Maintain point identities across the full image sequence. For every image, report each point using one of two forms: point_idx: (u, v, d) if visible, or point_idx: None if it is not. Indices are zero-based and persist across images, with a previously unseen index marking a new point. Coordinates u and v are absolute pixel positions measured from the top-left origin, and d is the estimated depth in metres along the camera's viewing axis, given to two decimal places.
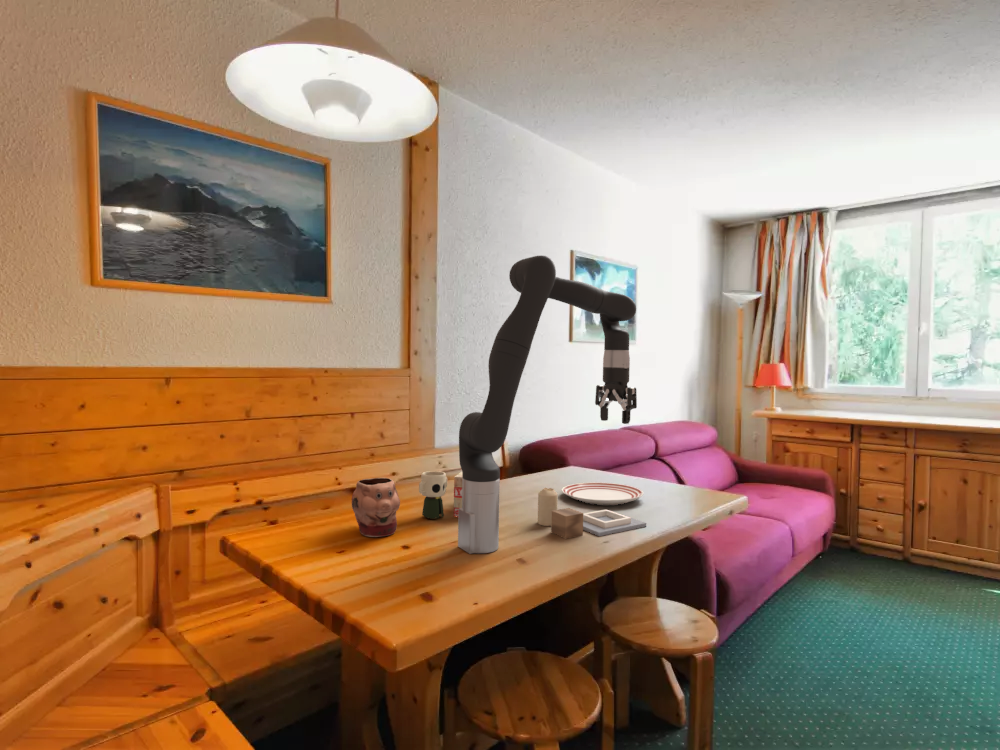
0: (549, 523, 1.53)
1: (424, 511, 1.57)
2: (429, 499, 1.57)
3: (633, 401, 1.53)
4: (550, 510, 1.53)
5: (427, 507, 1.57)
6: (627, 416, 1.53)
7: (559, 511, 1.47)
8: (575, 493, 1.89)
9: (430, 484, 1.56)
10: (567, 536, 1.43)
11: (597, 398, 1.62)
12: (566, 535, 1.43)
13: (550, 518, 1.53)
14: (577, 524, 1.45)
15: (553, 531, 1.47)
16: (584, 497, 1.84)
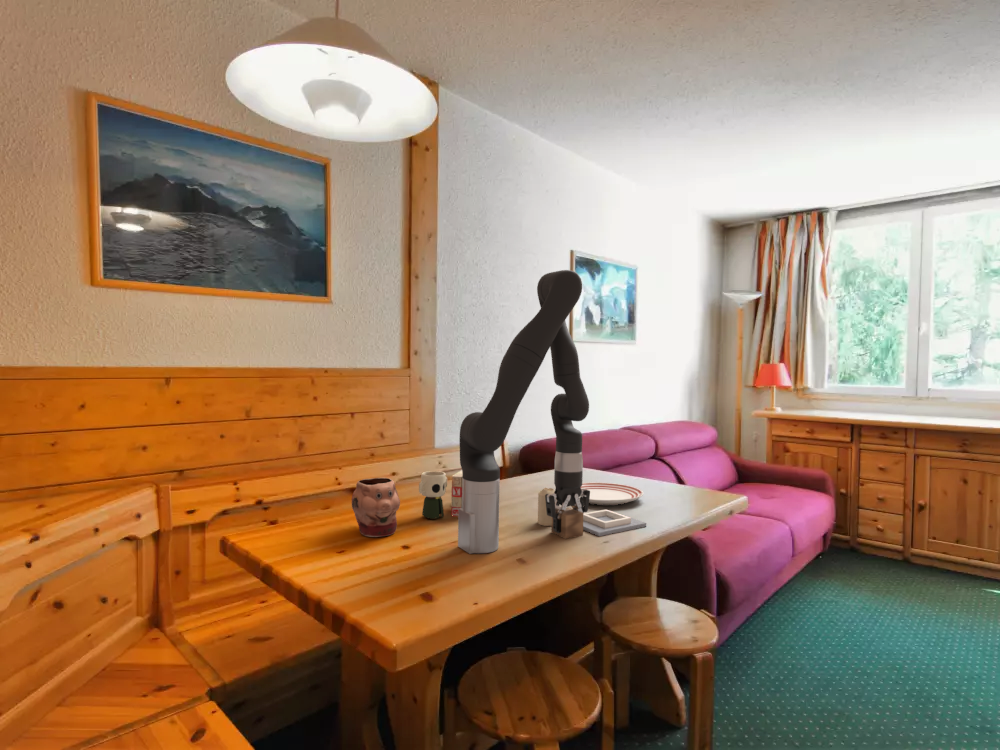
0: (549, 523, 1.53)
1: (424, 511, 1.57)
2: (429, 499, 1.57)
3: (581, 503, 1.50)
4: None
5: (427, 507, 1.57)
6: None
7: None
8: None
9: (430, 484, 1.56)
10: (567, 536, 1.43)
11: (554, 510, 1.42)
12: (566, 534, 1.43)
13: (550, 518, 1.53)
14: (577, 524, 1.45)
15: (553, 531, 1.47)
16: None
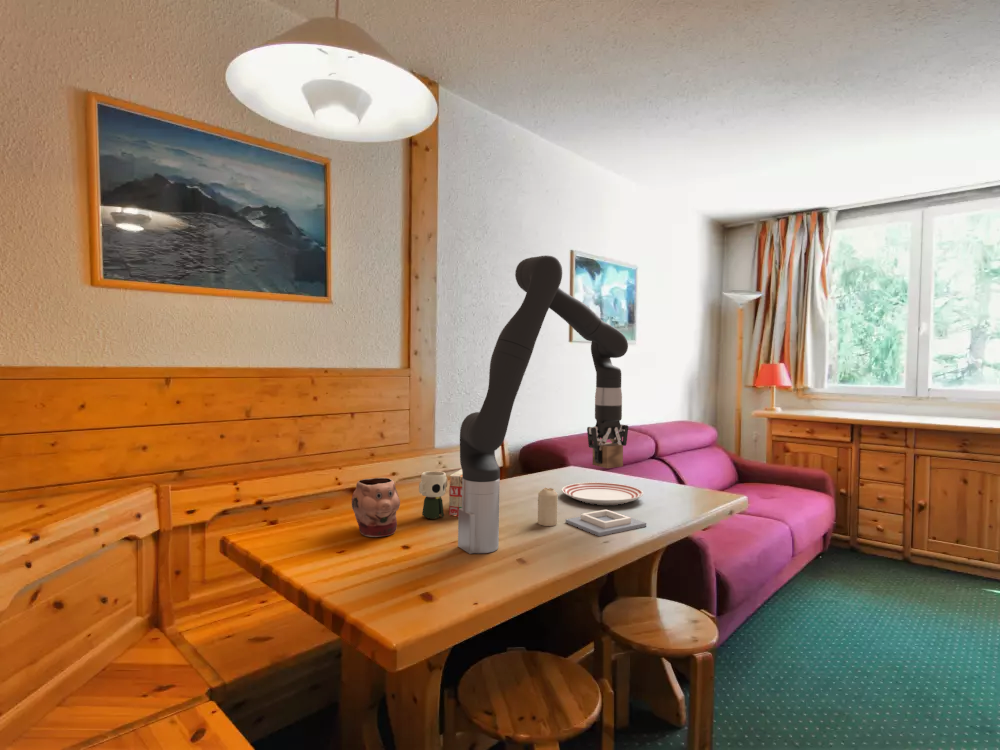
0: (549, 523, 1.53)
1: (424, 511, 1.57)
2: (429, 499, 1.57)
3: (620, 438, 1.58)
4: (550, 510, 1.53)
5: (427, 507, 1.57)
6: None
7: None
8: (575, 493, 1.89)
9: (430, 484, 1.56)
10: (608, 466, 1.51)
11: (596, 441, 1.51)
12: (607, 464, 1.51)
13: (550, 518, 1.53)
14: (618, 455, 1.53)
15: (594, 463, 1.55)
16: (584, 497, 1.84)
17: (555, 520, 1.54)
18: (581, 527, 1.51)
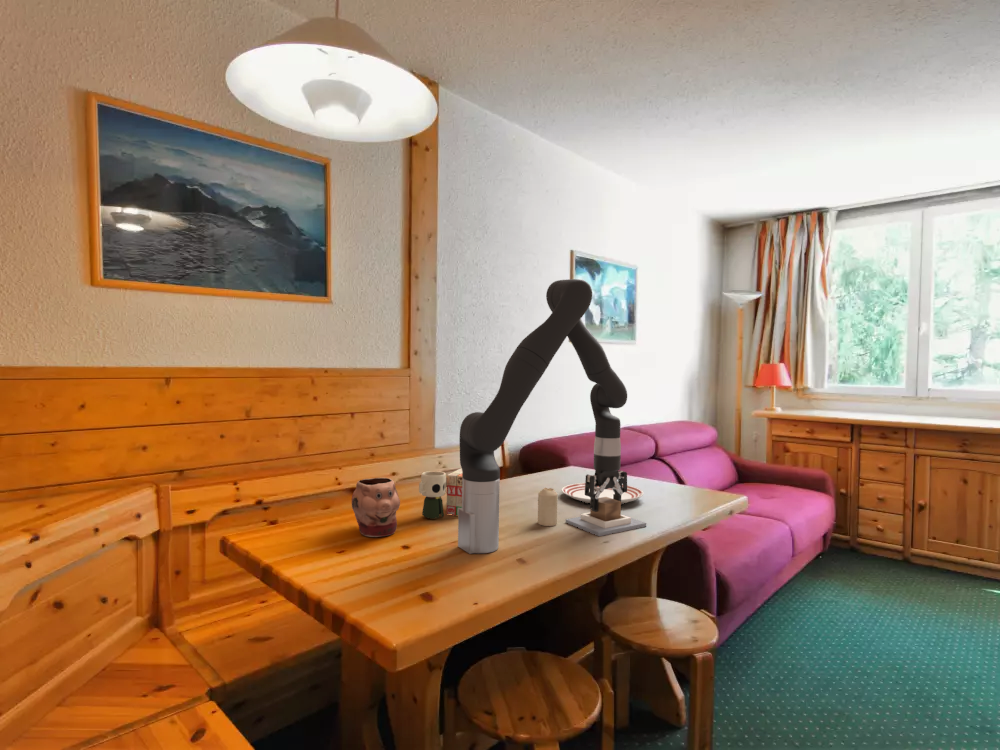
0: (549, 523, 1.53)
1: (424, 511, 1.57)
2: (429, 499, 1.57)
3: (620, 484, 1.59)
4: (550, 510, 1.53)
5: (427, 507, 1.57)
6: None
7: None
8: (575, 493, 1.89)
9: (430, 484, 1.56)
10: None
11: (592, 490, 1.51)
12: None
13: (550, 518, 1.53)
14: (615, 512, 1.53)
15: None
16: (584, 497, 1.84)
17: (555, 520, 1.54)
18: (581, 527, 1.51)
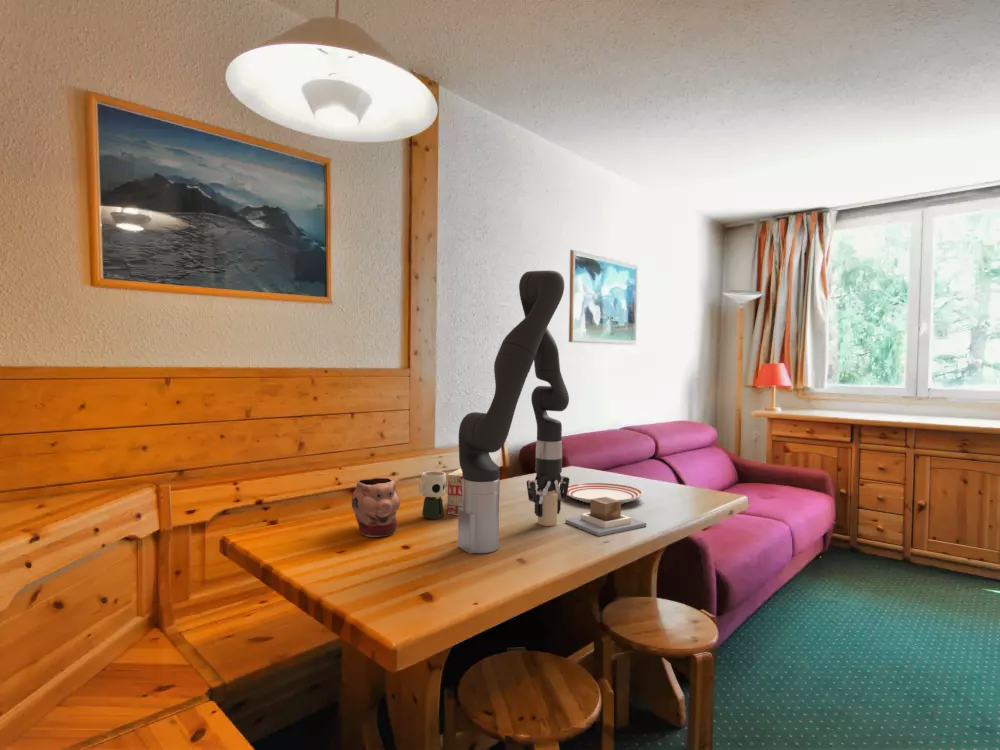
0: (549, 523, 1.53)
1: (424, 511, 1.57)
2: (429, 499, 1.57)
3: (561, 489, 1.59)
4: (550, 510, 1.53)
5: (427, 507, 1.57)
6: None
7: (598, 499, 1.56)
8: (575, 493, 1.89)
9: (430, 484, 1.56)
10: None
11: (535, 495, 1.51)
12: None
13: (550, 518, 1.53)
14: (615, 512, 1.53)
15: None
16: (584, 497, 1.84)
17: (555, 520, 1.54)
18: (581, 527, 1.51)
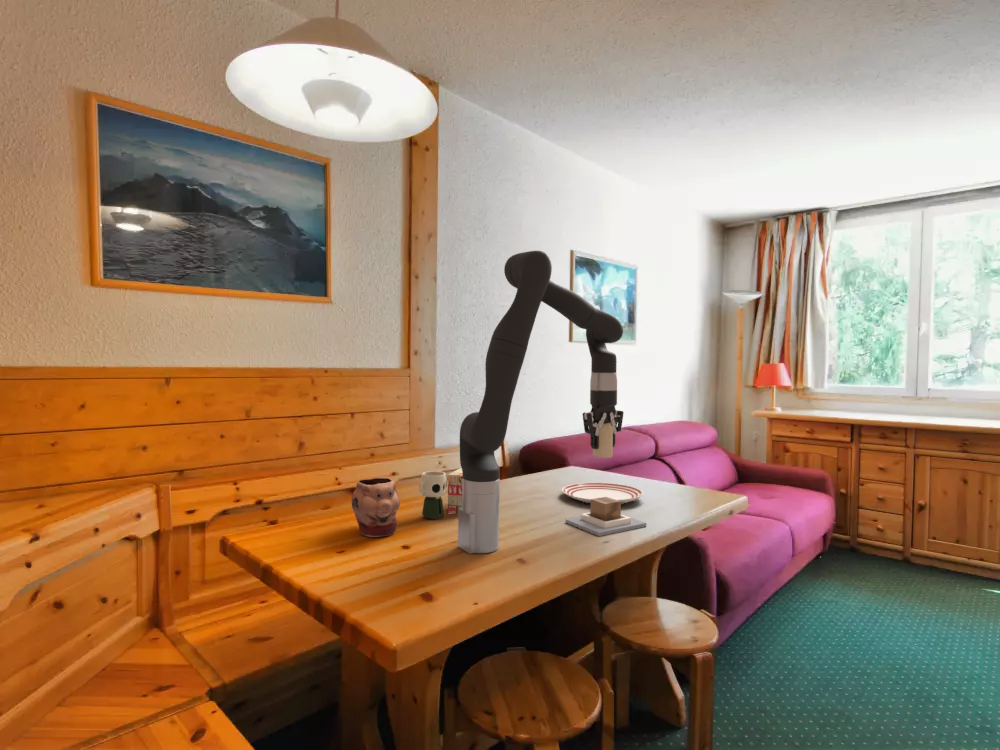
0: (605, 455, 1.53)
1: (424, 511, 1.57)
2: (429, 499, 1.57)
3: (615, 423, 1.59)
4: (606, 442, 1.52)
5: (427, 507, 1.57)
6: None
7: (598, 499, 1.56)
8: (575, 493, 1.89)
9: (430, 484, 1.56)
10: None
11: (592, 426, 1.51)
12: None
13: (606, 450, 1.53)
14: (615, 512, 1.53)
15: None
16: (584, 497, 1.84)
17: (611, 452, 1.54)
18: (581, 527, 1.51)
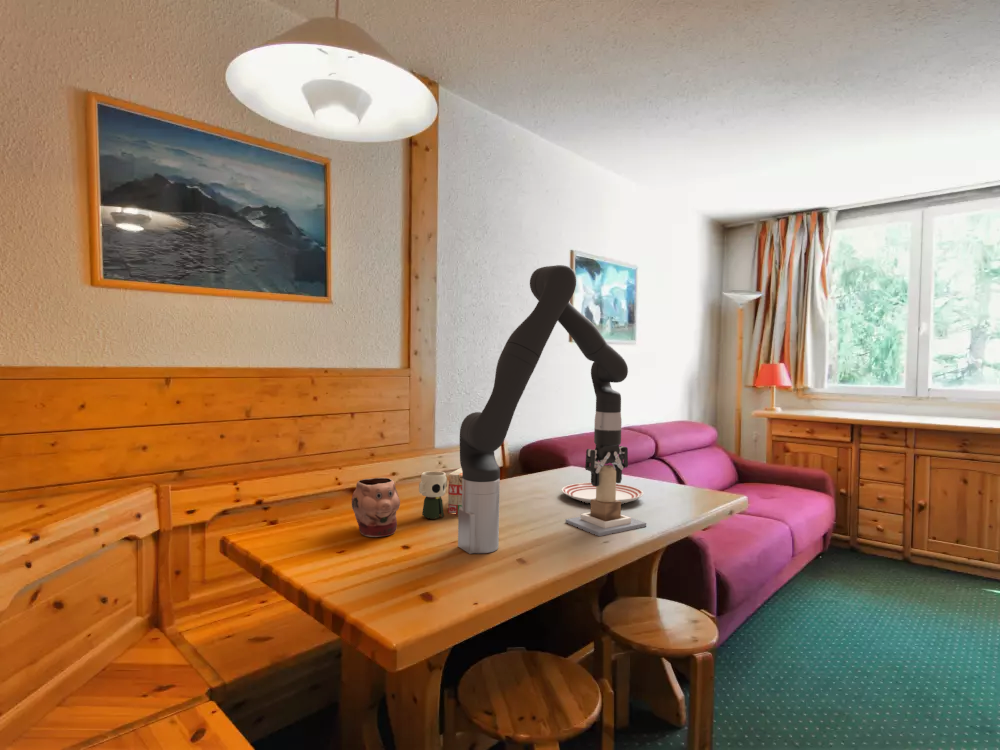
0: (608, 499, 1.52)
1: (424, 511, 1.57)
2: (429, 499, 1.57)
3: (621, 459, 1.59)
4: (609, 486, 1.52)
5: (427, 507, 1.57)
6: None
7: None
8: (575, 493, 1.89)
9: (430, 484, 1.56)
10: None
11: (593, 464, 1.51)
12: None
13: (609, 494, 1.52)
14: (615, 512, 1.53)
15: None
16: (584, 497, 1.84)
17: (614, 497, 1.54)
18: (581, 527, 1.51)
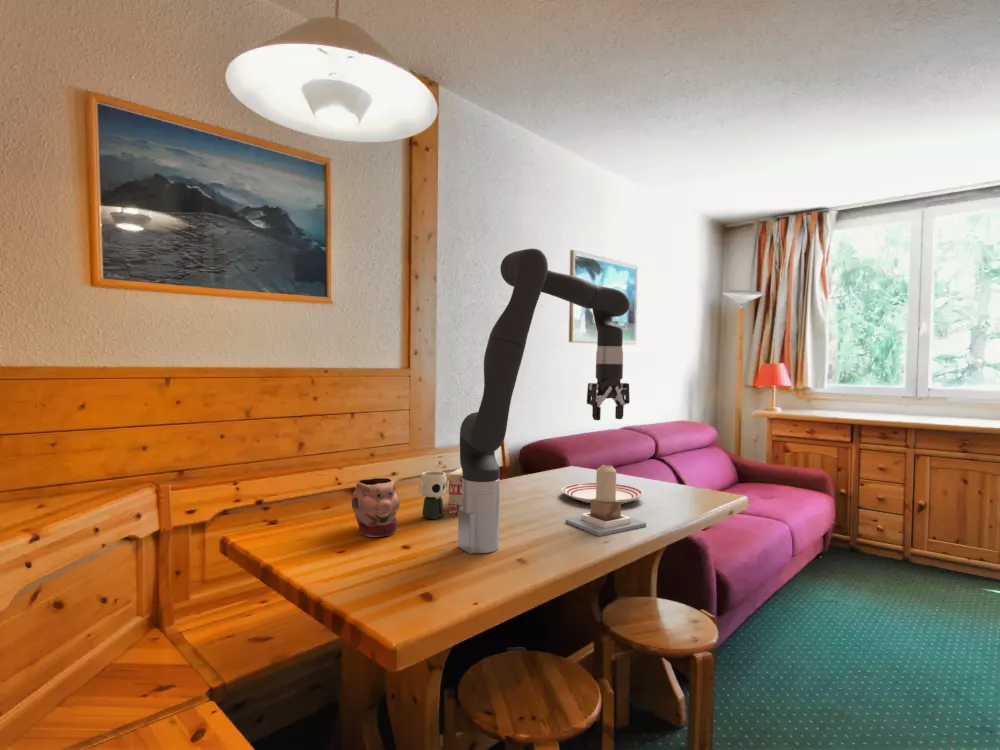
0: (608, 499, 1.52)
1: (424, 511, 1.57)
2: (429, 499, 1.57)
3: (622, 396, 1.59)
4: (609, 486, 1.52)
5: (427, 507, 1.57)
6: None
7: None
8: (575, 493, 1.89)
9: (430, 484, 1.56)
10: None
11: (595, 397, 1.50)
12: None
13: (609, 494, 1.52)
14: (616, 512, 1.53)
15: None
16: (584, 497, 1.84)
17: (614, 497, 1.54)
18: (581, 527, 1.51)
